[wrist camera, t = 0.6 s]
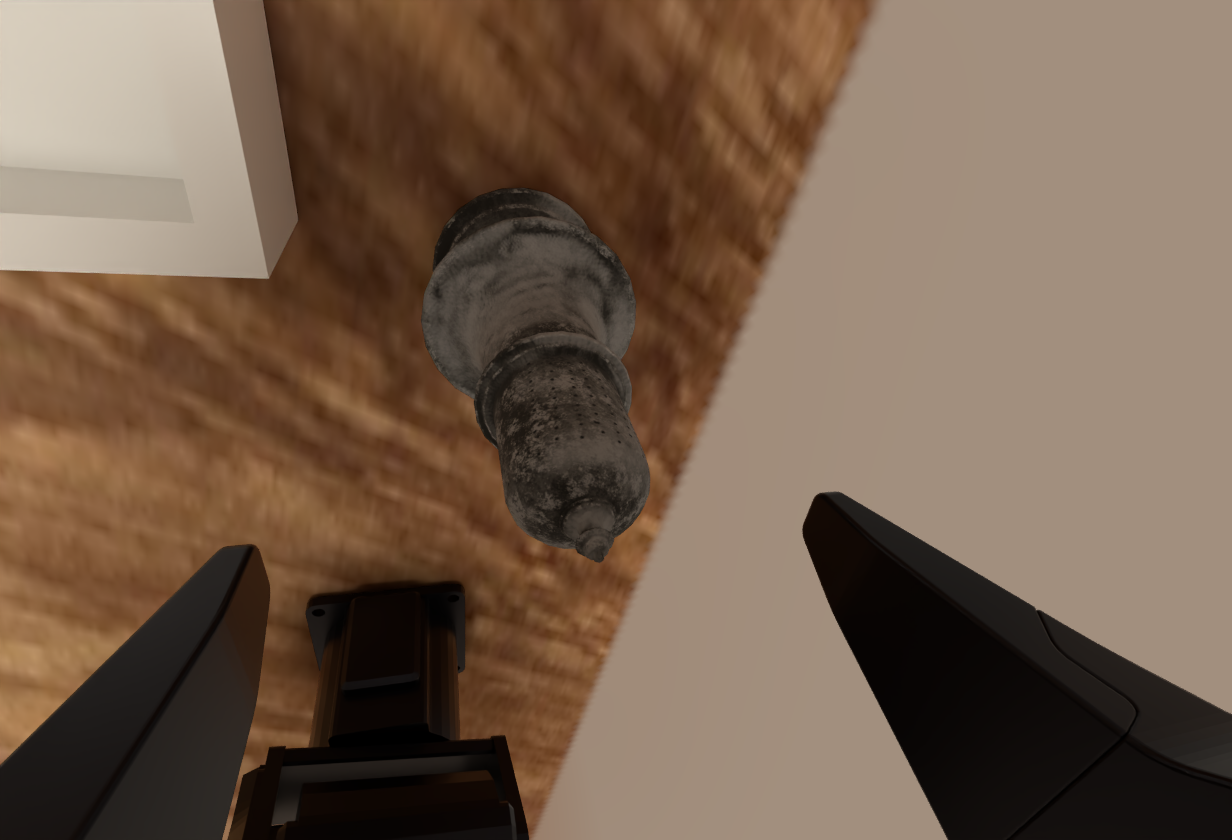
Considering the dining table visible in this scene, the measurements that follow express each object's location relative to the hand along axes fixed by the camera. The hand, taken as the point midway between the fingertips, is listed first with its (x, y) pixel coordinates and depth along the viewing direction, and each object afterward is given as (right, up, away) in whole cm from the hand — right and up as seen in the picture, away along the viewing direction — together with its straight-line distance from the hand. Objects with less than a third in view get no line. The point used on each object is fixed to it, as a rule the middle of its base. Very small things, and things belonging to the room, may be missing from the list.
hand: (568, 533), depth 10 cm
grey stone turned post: (-2, +7, +10) cm, 12 cm away
